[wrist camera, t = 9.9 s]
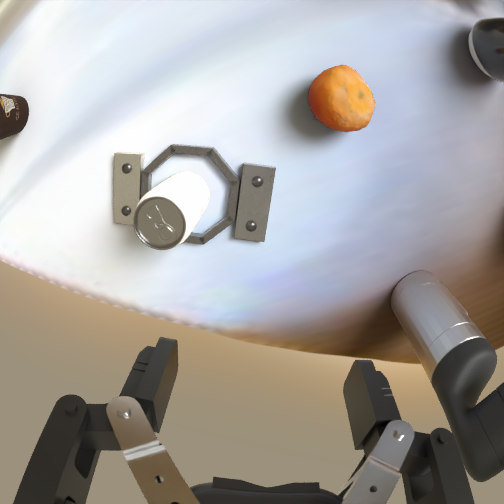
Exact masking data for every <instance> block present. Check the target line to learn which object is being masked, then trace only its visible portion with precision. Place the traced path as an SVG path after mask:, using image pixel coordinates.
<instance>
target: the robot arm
mask: <svg viewBox="0 0 504 504" xmlns="http://www.w3.org/2000/svg"><path fill="white" fill-rule="evenodd" d="M391 308H392V310H393V312H394V314H395V316H396V317H397V319H398V321H399V323H400V325H401V326H402V328H403V330H404V332H405V334H406V336H407V337H408V339H409V341H410V343H411V345H412V347H413V349H414V350H415V352H416V354H417V356H418V358H419V360H420V362H421V364H422V366H423V368H424V370H425V371H426V374H427V375H428V377H429V380H430V382H431V384H432V386H433V388H434V390H435V392H436V394H437V396H438V398H439V401H440V403H441V405H442V407H443V409H444V412H445V414H446V417H447V420H448V422H449V425H450V428H451V431H452V433H451V432H450V431H449V430H447V429H444V428H437V429H435V430H433V431H432V432H431V434H425V433H420V432H415V431H414V430H413V428H412V427H411V425H409V424H408V423H407V422H405V421H402V420H401V417H400V414H399V411H398V408H397V405H396V403H395V399H394V397H393V396H392V391H391V389H390V386H389V383H388V380H387V378H386V377H385V376H384V375H383V374H382V373H381V371H376V370H375V367H374V364H373V362H372V361H371V360H355V362H354V363H353V365H352V367H351V370H350V372H349V374H348V376H347V378H346V380H345V383H344V389H343V393H344V398H345V403H346V407H347V411H348V417H349V421H350V426H351V431H352V436H353V441H354V446H355V450H361V449H364V453H365V454H364V455H363V457H362V458H361V460H360V461H359V463H358V464H357V466H356V467H355V469H354V470H353V472H352V474H351V475H350V476H349V478H348V479H347V481H346V482H345V484H344V485H343V486H342V488H341V489H340V490H339V492H338V493H337V494H334V493H332V492H329V491H327V490H324V489H320V488H319V483H317V482H315V483H290V484H285V485H280V486H275V487H268V488H267V487H262V486H259V485H255V484H252V483H249V482H245V481H242V480H236V479H227V478H219V477H213V482H212V483H204V484H199V485H196V486H193V487H190V488H189V486H188V485H187V483H186V482H185V480H184V479H183V477H182V475H181V474H180V472H179V471H178V469H177V467H176V466H175V464H174V462H173V461H172V459H171V457H170V456H169V454H168V452H167V450H166V449H165V447H164V446H163V445H162V444H160V442H159V441H158V439H157V437H156V435H155V433H154V432H157V433H159V432H160V428H161V425H162V422H163V418H164V415H165V412H166V408H167V405H168V402H169V399H170V395H171V392H172V389H173V386H174V382H175V379H176V376H177V371H178V349H177V348H178V345H177V340H175V339H169V338H164V337H160V338H159V340H158V343H157V345H156V347H151V346H147V347H146V348H144V349H143V350H142V351H141V352H140V353H139V355H138V357H137V359H136V362H135V363H134V365H133V367H132V370H131V372H130V374H129V376H128V378H127V380H126V383H125V385H124V387H123V389H122V391H121V393H120V395H119V397H116V398H114V399H112V400H111V401H110V402H109V403H107V404H86V403H85V401H84V400H83V399H82V398H81V397H79V396H77V395H66V396H63V397H61V398H60V399H59V400H58V401H57V402H56V404H55V406H54V408H53V411H52V412H51V415H50V417H49V419H48V421H47V423H46V425H45V427H44V429H43V431H42V434H41V436H40V438H39V440H38V443H37V445H36V447H35V449H34V452H33V454H32V456H31V459H30V461H29V463H28V466H27V468H26V471H25V473H24V476H23V478H22V481H21V484H20V486H19V489H18V492H17V495H16V497H15V500H14V503H13V504H85V503H86V499H87V495H88V492H89V488H90V485H91V481H92V478H93V475H94V471H95V468H96V465H97V461H98V458H99V455H100V452H101V450H122V452H123V454H124V456H125V458H126V461H127V463H128V465H129V467H130V469H131V471H132V473H133V475H134V477H135V479H136V481H137V483H138V485H139V487H140V489H141V491H142V493H143V495H144V497H145V498H146V500H147V502H148V504H386V503H387V501H388V499H389V497H390V496H391V494H392V492H393V490H394V488H395V486H396V484H397V482H398V480H399V478H400V476H401V473H402V478H403V483H404V488H405V495H406V500H407V504H474V500H473V496H472V492H471V489H470V485H469V482H468V478H467V475H466V471H465V469H466V470H467V472H468V474H469V475H470V476H471V477H472V478H473V479H474V480H476V481H478V482H484V481H487V480H489V479H490V478H492V477H494V476H495V475H496V474H498V473H500V472H501V471H502V470H504V383H502V384H501V385H500V386H499V387H498V388H496V390H494V391H493V392H492V393H491V394H489V395H488V396H487V397H486V398H485V399H483V400H482V401H481V402H480V403H478V404H477V405H476V403H477V400H478V398H479V396H480V394H481V392H482V391H483V389H484V387H485V386H486V384H487V383H488V381H489V380H490V378H491V376H492V375H493V373H494V370H495V367H496V364H497V355H496V352H495V350H494V348H493V347H492V346H491V344H490V343H489V342H488V340H487V339H486V338H485V337H484V335H483V334H482V333H481V331H480V330H479V329H478V328H477V326H476V325H475V324H474V323H473V321H472V320H471V319H470V318H469V316H468V312H467V311H466V310H465V308H464V307H463V306H462V305H461V304H460V302H459V301H458V300H457V299H456V298H455V297H454V295H453V294H452V293H451V292H450V291H449V290H448V289H447V287H446V286H445V285H444V284H443V283H442V282H440V281H438V280H437V279H436V277H435V276H434V275H432V274H431V273H429V272H427V271H417V272H413V273H411V274H409V275H407V276H406V277H404V278H403V279H402V280H401V281H400V282H399V283H398V284H397V286H396V287H395V289H394V291H393V293H392V296H391ZM475 405H476V406H475ZM463 464H464V465H463ZM464 466H465V468H464Z"/></svg>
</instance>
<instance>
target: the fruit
mask: <svg viewBox="0 0 504 504" xmlns="http://www.w3.org/2000/svg"><path fill="white" fill-rule="evenodd" d="M308 103H309V106H310V108H311V110H312V112H313V114H314V115H315V116H316V117H315V118H314V119H313V120H315V119H318V120H319V121H320V122H321V123H323V124H324V125H326V126H328V127H330V128H332V129H334V130H339V131H345V132H350V131H357V130H360V129H362V128H364V127H366V126H367V125H368V123H369V122H370V119H371V117H372V114H373V112H374V108H375V100H374V98H373V95H372V92H371V90H370V88H369V87H368V85H367V84H366V82H365V81H364V80H363V78H362V77H361V76H360V74H359V73H358V72H357V71H356V70H354V69H352V68H351V67H349V66H347V65H340V66H335V67H332V68H329V69H327V70H325V71H323V72H322V73H321V74H320V75H319V76H318V77H317V78H316V79H315V80H314V81H313V82H312V85H311V87H310V90H309V93H308Z"/></svg>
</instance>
